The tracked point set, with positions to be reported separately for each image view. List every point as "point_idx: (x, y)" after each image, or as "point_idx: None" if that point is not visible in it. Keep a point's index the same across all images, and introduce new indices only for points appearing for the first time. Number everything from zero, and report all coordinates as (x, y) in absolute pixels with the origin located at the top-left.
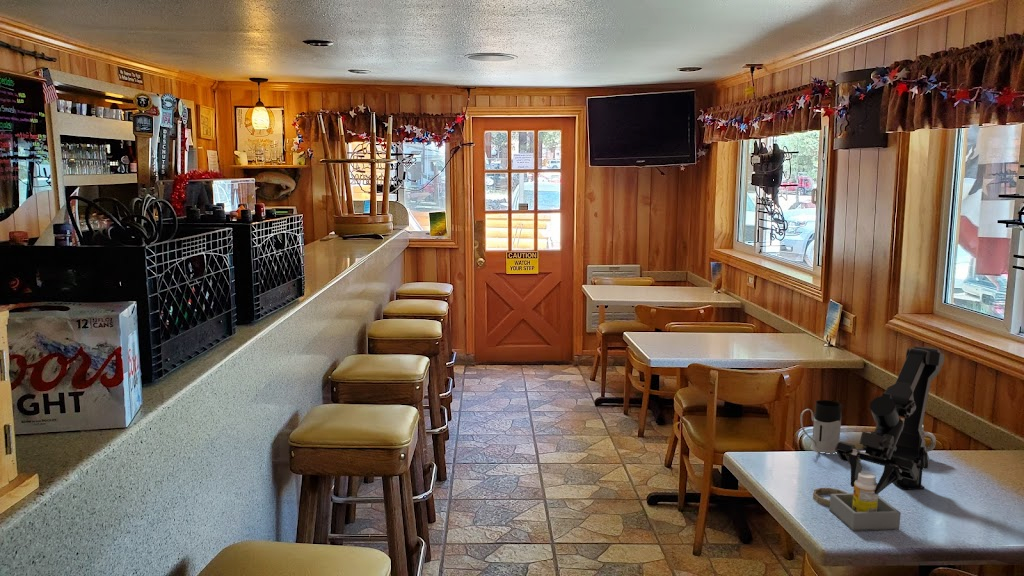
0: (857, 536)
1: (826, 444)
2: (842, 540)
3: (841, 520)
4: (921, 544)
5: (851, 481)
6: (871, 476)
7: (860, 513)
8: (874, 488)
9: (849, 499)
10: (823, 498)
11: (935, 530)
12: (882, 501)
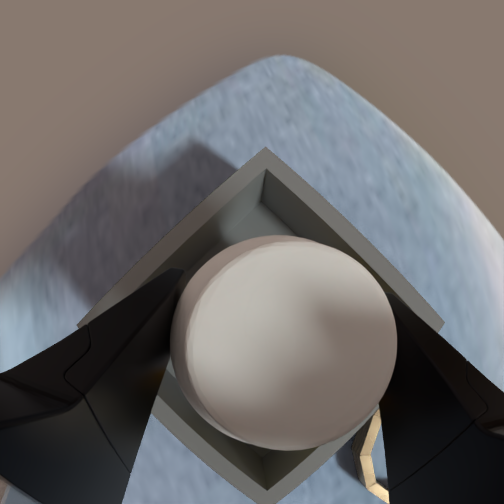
0: (232, 157)
1: None
2: (263, 101)
3: None
4: (40, 251)
5: (401, 305)
6: (231, 326)
7: (240, 169)
8: (189, 283)
9: None
10: None
11: None
12: (192, 428)
